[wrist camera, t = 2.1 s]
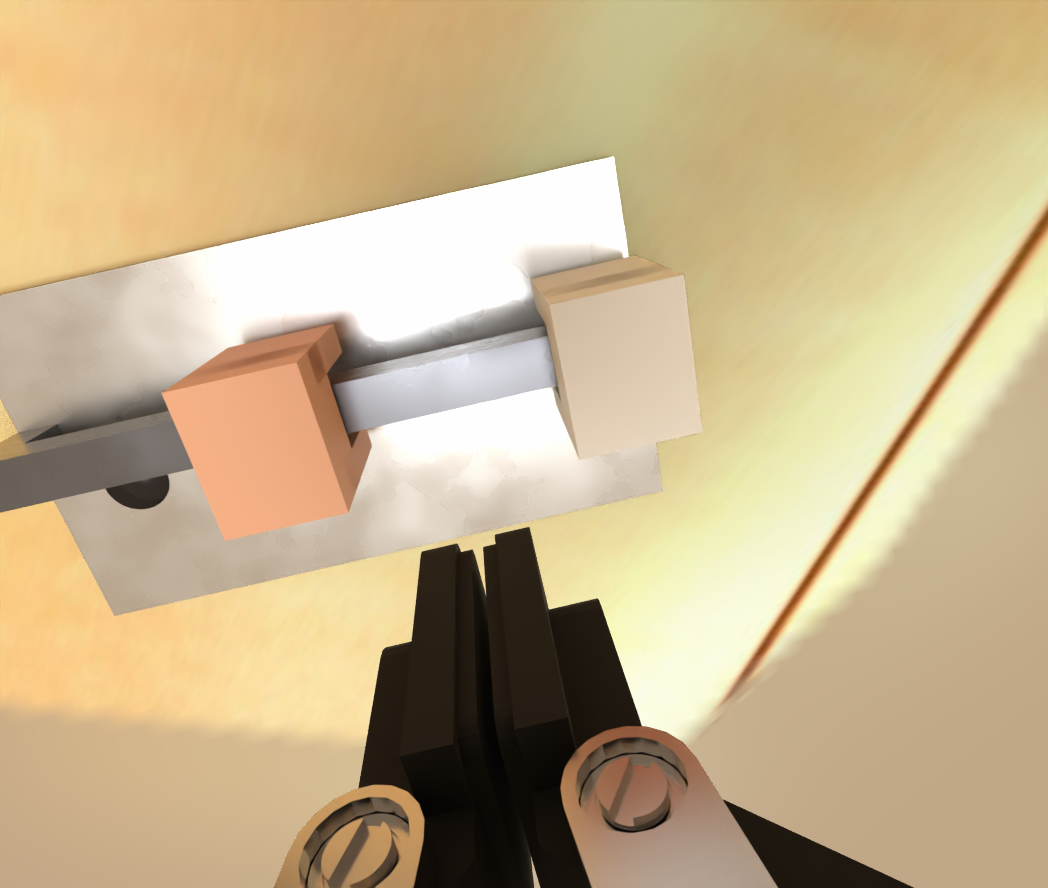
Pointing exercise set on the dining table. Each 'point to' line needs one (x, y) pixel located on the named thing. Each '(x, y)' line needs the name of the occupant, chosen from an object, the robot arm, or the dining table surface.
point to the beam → (361, 395)
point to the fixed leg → (620, 354)
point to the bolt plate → (365, 339)
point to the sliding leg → (269, 433)
